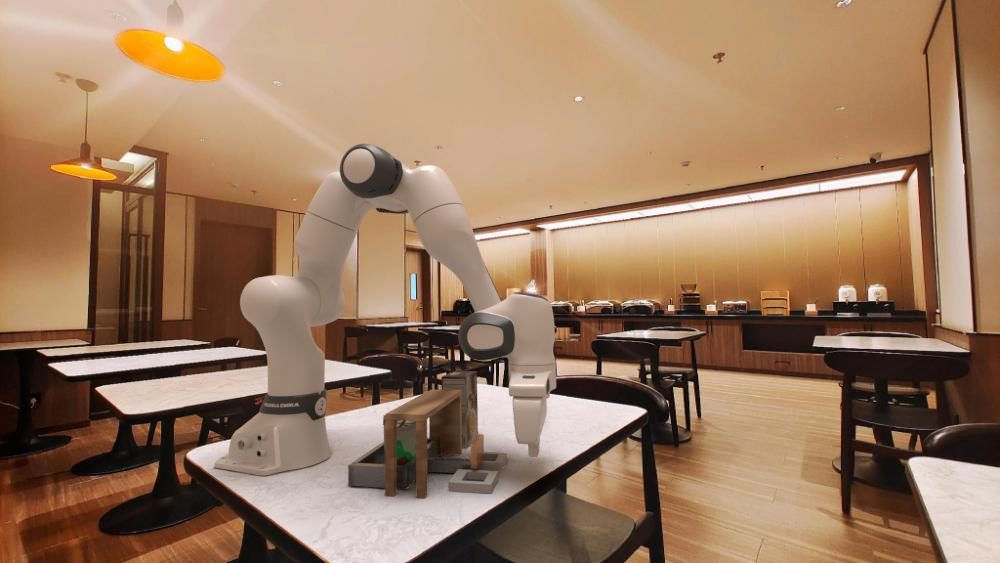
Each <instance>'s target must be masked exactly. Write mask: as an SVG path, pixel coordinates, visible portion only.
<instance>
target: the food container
mask: <svg viewBox="0 0 1000 563" xmlns="http://www.w3.org/2000/svg"><path fill="white" fill-rule="evenodd" d="M382 419H383V420H382V426H383V442H384V463H383V464H385V414H384V415H383V418H382ZM415 455H416V421H413V420H397V465H405V464H406V463H407V462H408V461H409V460H411V459H412V458H413V457H414V456H415Z"/></svg>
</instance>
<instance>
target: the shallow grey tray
mask: <svg viewBox="0 0 1000 563" xmlns="http://www.w3.org/2000/svg"><path fill="white" fill-rule="evenodd" d="M484 443H485V442H484V434H483V433H481V434H480V433H478V436H477V437H476V438H475V439H474V440H473V442H472V443H471V445H470V453H471V459H466V458H458V457H457V458H456V457H439V456H440V455H441V454H440V438H430V437H428V436H427V473H429V472H430V473H431V472H432V473H446V474H447V473H448V474H455V473H456V471H457V470H458V469H465V470H479V465H480V463H481V462H482V460H483V459H484V452H485V451H484V450H485V448H484V447H485V446H484V445H485V444H484ZM347 466H348V467H347V470H348V472H347V476H348V478H347V481H348V482H347V484H348V485H347V486H350V487H351V486H353V487H367V488H368V487H369V488H382V489H383V488H384V489H385V464H384V441H382V442H380V444H378V445H377V446H375V447H373V448H372V449H370V450H369V451H368V452H366V453H365V454H363V455H362V456H360V457H358V458H357V459H355V460H354V461H353V462H351V463H349V464H348V465H347ZM414 482H416V455H415V456H414V457H413V458H412V459H411V460H409V461H408V462H407V463H406V464H405V465H397V490H398V489H399V490H407V489H408V488H409V487H410V486H412V484H413V483H414Z"/></svg>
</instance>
